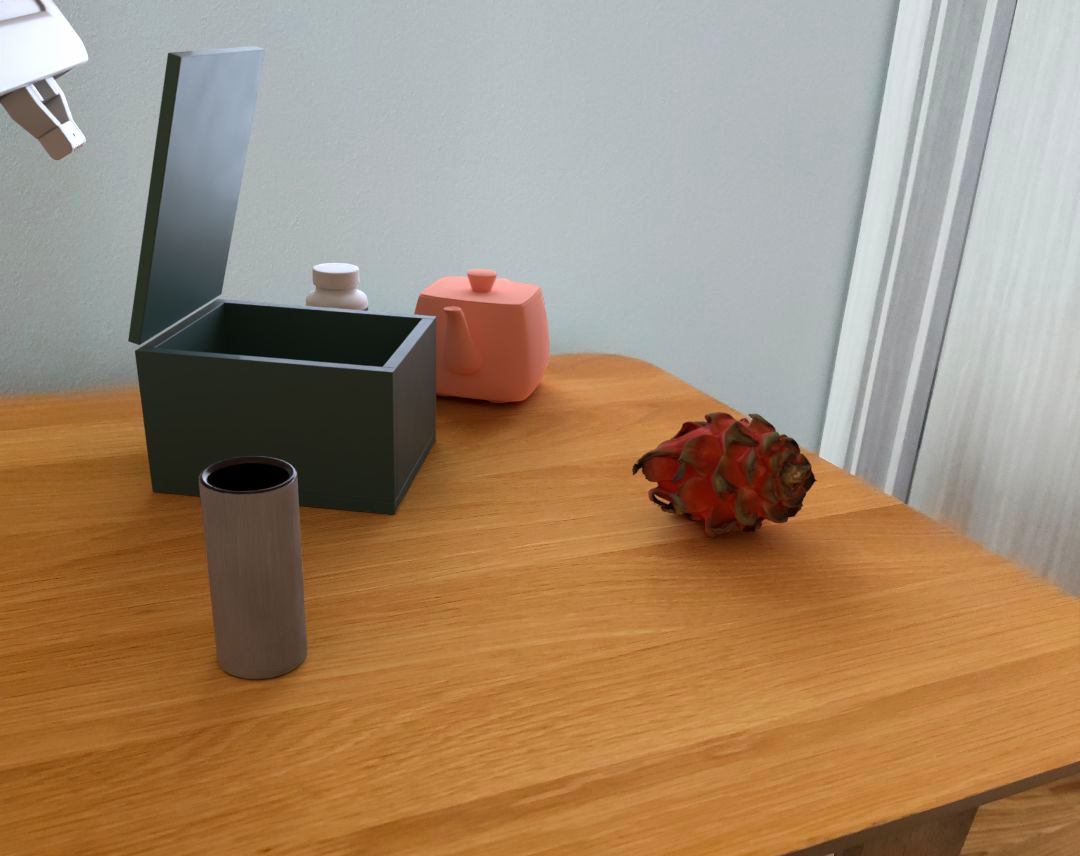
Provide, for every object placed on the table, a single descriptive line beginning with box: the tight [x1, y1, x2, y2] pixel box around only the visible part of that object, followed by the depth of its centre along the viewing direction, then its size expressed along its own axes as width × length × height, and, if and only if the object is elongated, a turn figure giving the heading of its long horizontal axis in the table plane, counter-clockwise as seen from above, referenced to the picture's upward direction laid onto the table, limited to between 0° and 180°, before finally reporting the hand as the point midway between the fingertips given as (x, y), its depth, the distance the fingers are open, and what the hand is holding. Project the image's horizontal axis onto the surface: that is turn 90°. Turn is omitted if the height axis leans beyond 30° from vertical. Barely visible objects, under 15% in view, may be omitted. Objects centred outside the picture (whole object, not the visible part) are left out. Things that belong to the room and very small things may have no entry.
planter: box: [199, 456, 308, 680], centre depth 53 cm, size 4×4×10 cm
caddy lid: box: [127, 45, 266, 346], centre depth 69 cm, size 18×14×1 cm
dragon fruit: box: [632, 411, 818, 538], centre depth 70 cm, size 8×8×12 cm
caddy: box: [134, 298, 437, 515], centre depth 75 cm, size 17×14×10 cm
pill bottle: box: [305, 262, 369, 311], centre depth 94 cm, size 5×5×10 cm
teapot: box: [413, 268, 550, 404], centre depth 92 cm, size 12×18×10 cm, turn 167°
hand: (72, 152), depth 74 cm, fingers closed
